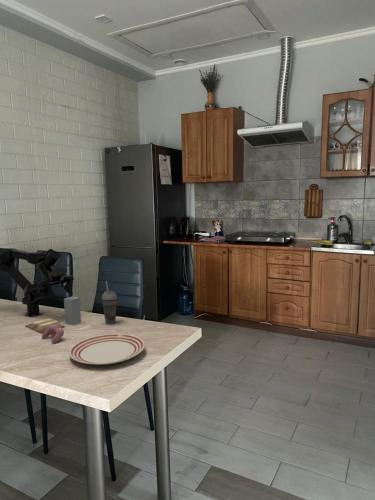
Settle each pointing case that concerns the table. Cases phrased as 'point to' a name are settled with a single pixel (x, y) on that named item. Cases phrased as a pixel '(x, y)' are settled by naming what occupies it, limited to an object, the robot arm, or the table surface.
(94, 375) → the table surface
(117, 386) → the table surface
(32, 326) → the build board
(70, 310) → the slate pillar block
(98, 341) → the dinner plate
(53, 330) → the video game controller
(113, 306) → the beverage cup
